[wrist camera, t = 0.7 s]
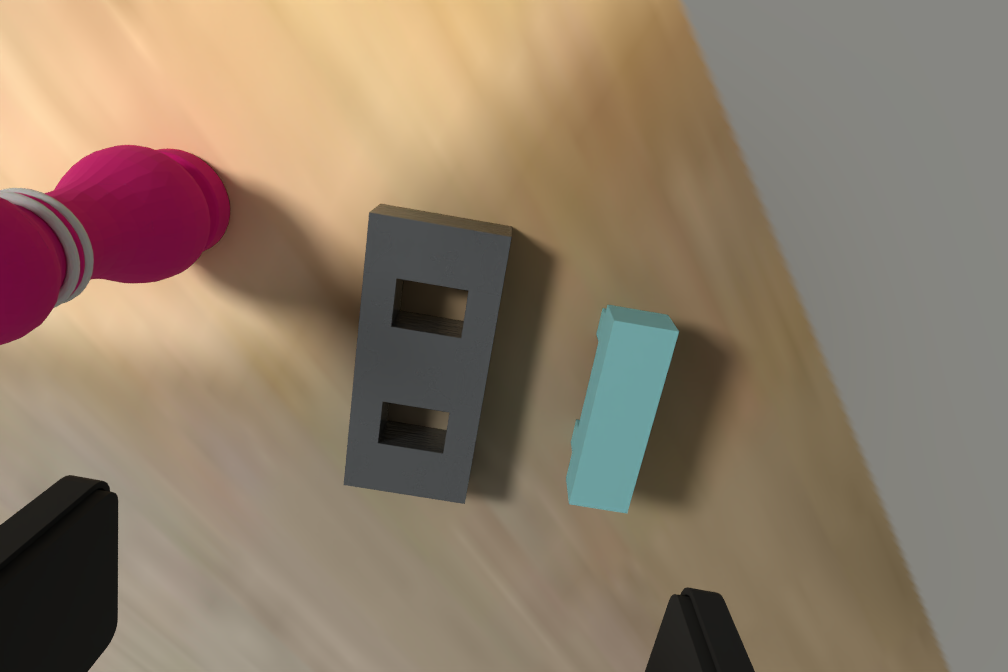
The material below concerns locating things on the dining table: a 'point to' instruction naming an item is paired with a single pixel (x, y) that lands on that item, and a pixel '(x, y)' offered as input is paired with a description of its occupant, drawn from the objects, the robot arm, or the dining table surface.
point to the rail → (423, 351)
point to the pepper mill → (105, 229)
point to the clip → (619, 406)
